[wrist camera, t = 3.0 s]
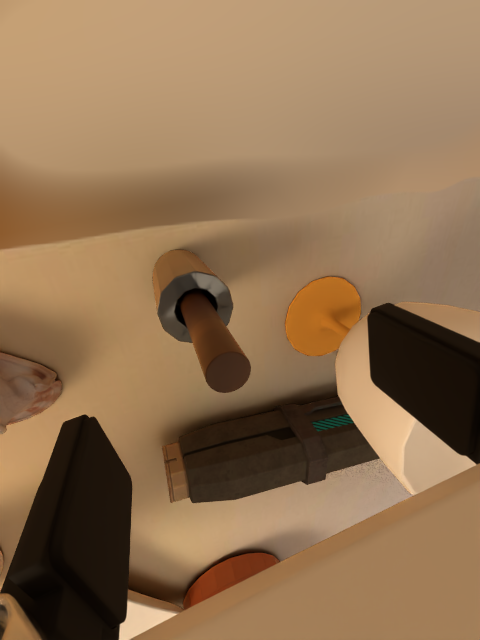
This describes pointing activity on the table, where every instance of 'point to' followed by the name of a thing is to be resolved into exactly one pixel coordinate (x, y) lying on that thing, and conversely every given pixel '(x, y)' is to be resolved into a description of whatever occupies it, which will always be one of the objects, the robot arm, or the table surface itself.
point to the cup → (357, 387)
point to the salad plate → (145, 614)
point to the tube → (264, 452)
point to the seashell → (24, 389)
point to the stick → (213, 343)
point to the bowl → (227, 576)
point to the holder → (182, 275)
